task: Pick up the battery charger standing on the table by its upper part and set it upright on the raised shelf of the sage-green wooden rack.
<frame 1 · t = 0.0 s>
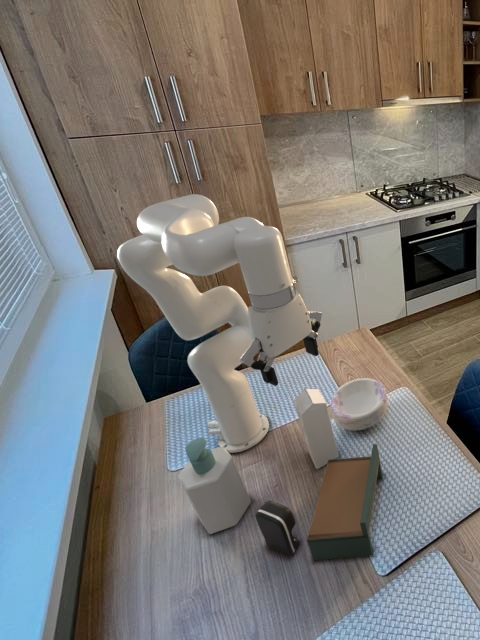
hand: (293, 367, 80), 37 cm above the table, tool pointing down, fingers open, 9 cm apart
rack: (351, 513, 91), on the table
soap bottle: (226, 511, 93), on the table
battery charger: (285, 543, 86), on the table
milk: (324, 455, 105), on the table
paper bowls: (362, 417, 116), on the table
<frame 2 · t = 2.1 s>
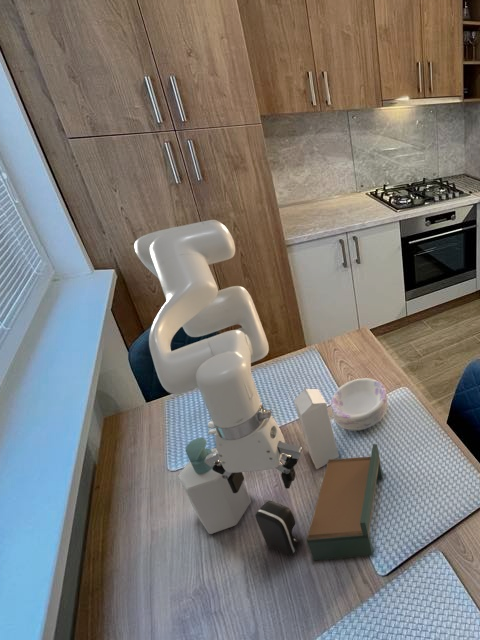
hand: (264, 483, 78), 19 cm above the table, tool pointing down, fingers open, 9 cm apart
nothing on the table moved.
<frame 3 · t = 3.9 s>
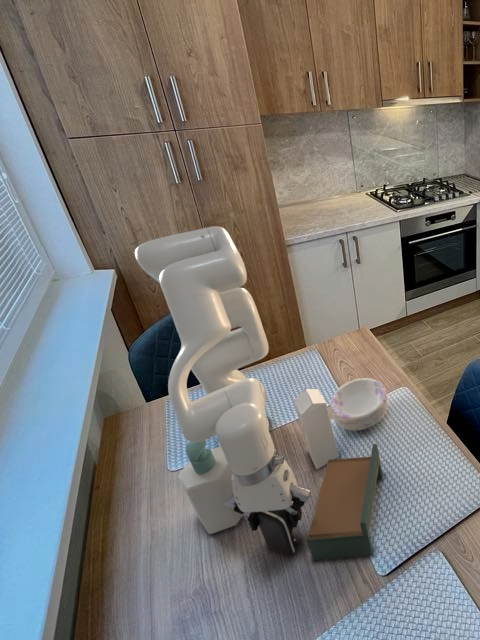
hand: (277, 521, 83), 7 cm above the table, tool pointing down, fingers closed on battery charger, 7 cm apart
battery charger: (285, 543, 86), on the table, touching gripper
everything else where it was.
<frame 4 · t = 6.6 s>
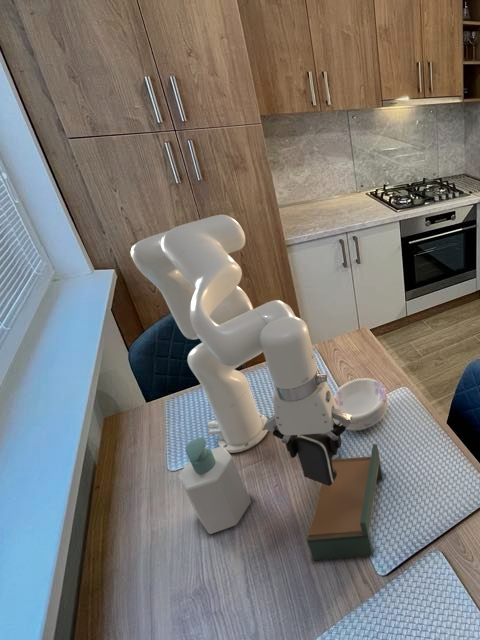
hand: (316, 449, 80), 23 cm above the table, tool pointing down, fingers closed on battery charger, 7 cm apart
battery charger: (323, 475, 83), point 15 cm above the table, touching gripper
everything else where it was.
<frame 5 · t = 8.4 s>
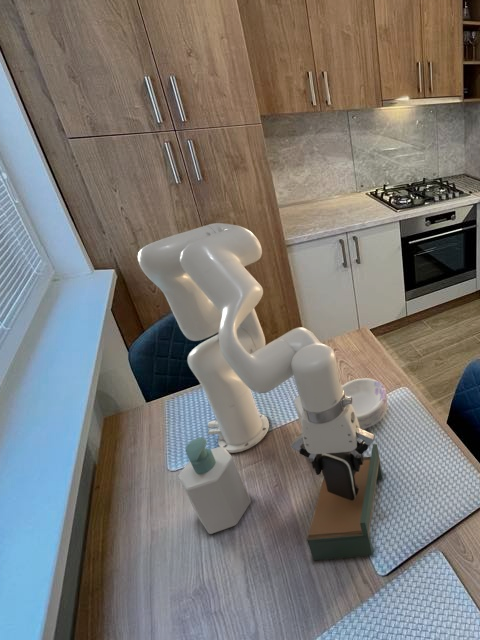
hand: (339, 466, 84), 16 cm above the table, tool pointing down, fingers closed on battery charger, 7 cm apart
battery charger: (345, 490, 87), point 8 cm above the table, touching gripper
everything else where it was.
when the fingers open (14 cm above the table, at t = 9.5 s): battery charger stays where it is, resting on rack.
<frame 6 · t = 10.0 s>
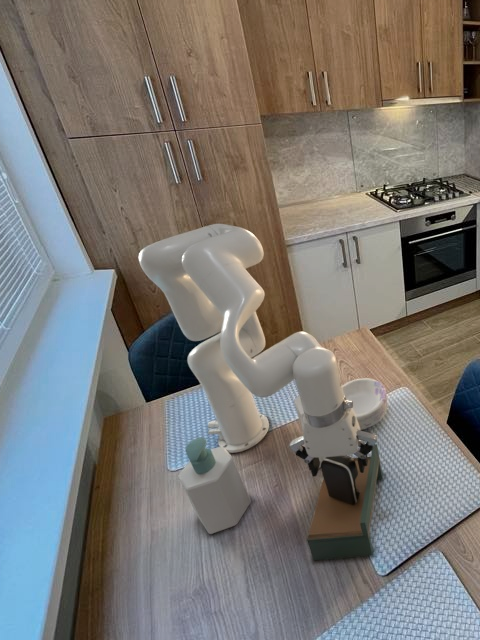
hand: (340, 468, 84), 15 cm above the table, tool pointing down, fingers open, 9 cm apart
battery charger: (346, 494, 88), point 7 cm above the table, touching rack
everything else where it was.
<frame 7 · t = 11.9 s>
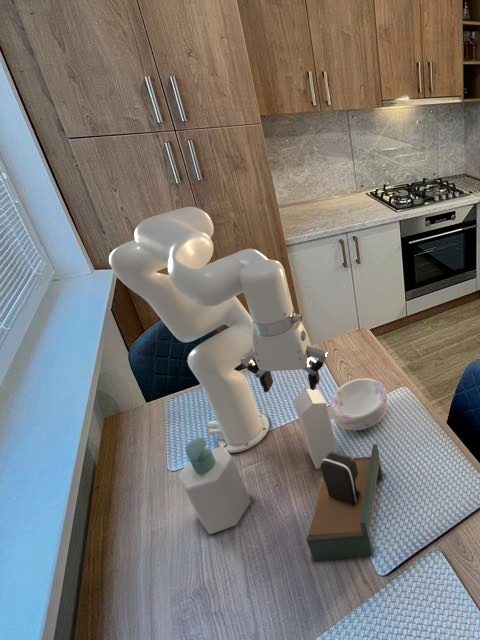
hand: (292, 386, 87), 29 cm above the table, tool pointing down, fingers open, 9 cm apart
nothing on the table moved.
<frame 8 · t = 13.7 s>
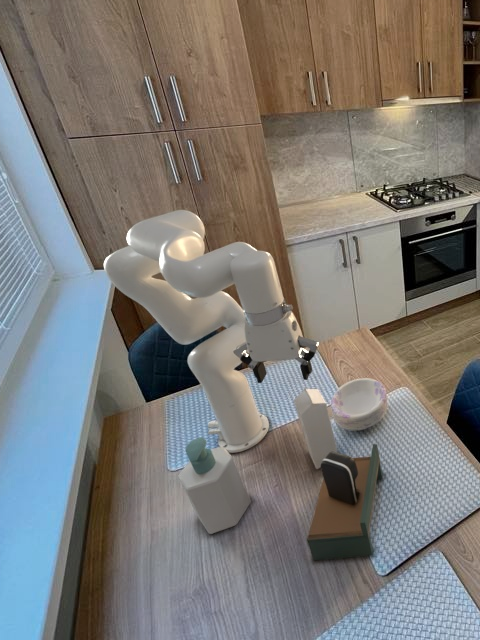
hand: (285, 377, 88), 30 cm above the table, tool pointing down, fingers open, 9 cm apart
nothing on the table moved.
at the end: battery charger inside the target area on the rack (0.2 cm from its centre), point 6.8 cm above the rack's base; battery charger tilted 0°; the gripper is holding nothing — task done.
